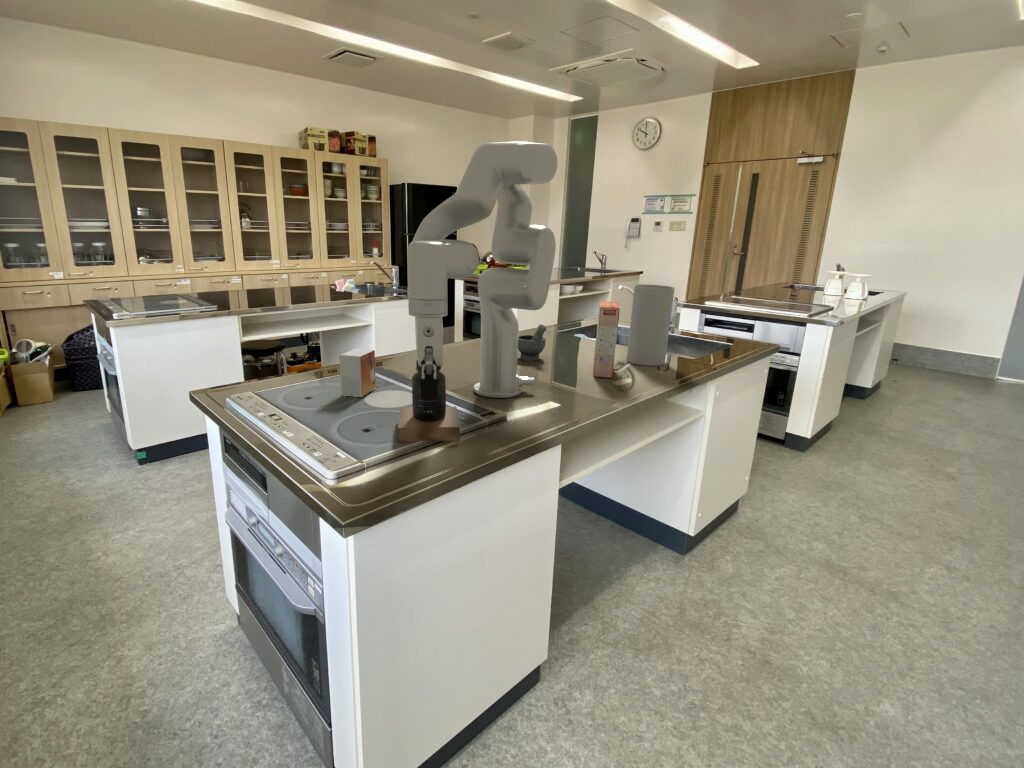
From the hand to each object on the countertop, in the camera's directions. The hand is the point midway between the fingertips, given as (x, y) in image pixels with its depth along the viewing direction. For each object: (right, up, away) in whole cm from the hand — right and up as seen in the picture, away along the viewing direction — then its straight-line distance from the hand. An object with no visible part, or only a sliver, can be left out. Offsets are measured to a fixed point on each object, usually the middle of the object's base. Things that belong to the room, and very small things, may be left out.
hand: (429, 390), depth 105 cm
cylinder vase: (+62, +9, +67) cm, 91 cm away
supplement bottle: (0, -5, +2) cm, 6 cm away
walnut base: (0, -8, +2) cm, 9 cm away
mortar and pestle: (+23, +10, +65) cm, 70 cm away
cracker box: (+45, +5, +53) cm, 69 cm away
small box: (-21, -1, +24) cm, 32 cm away
